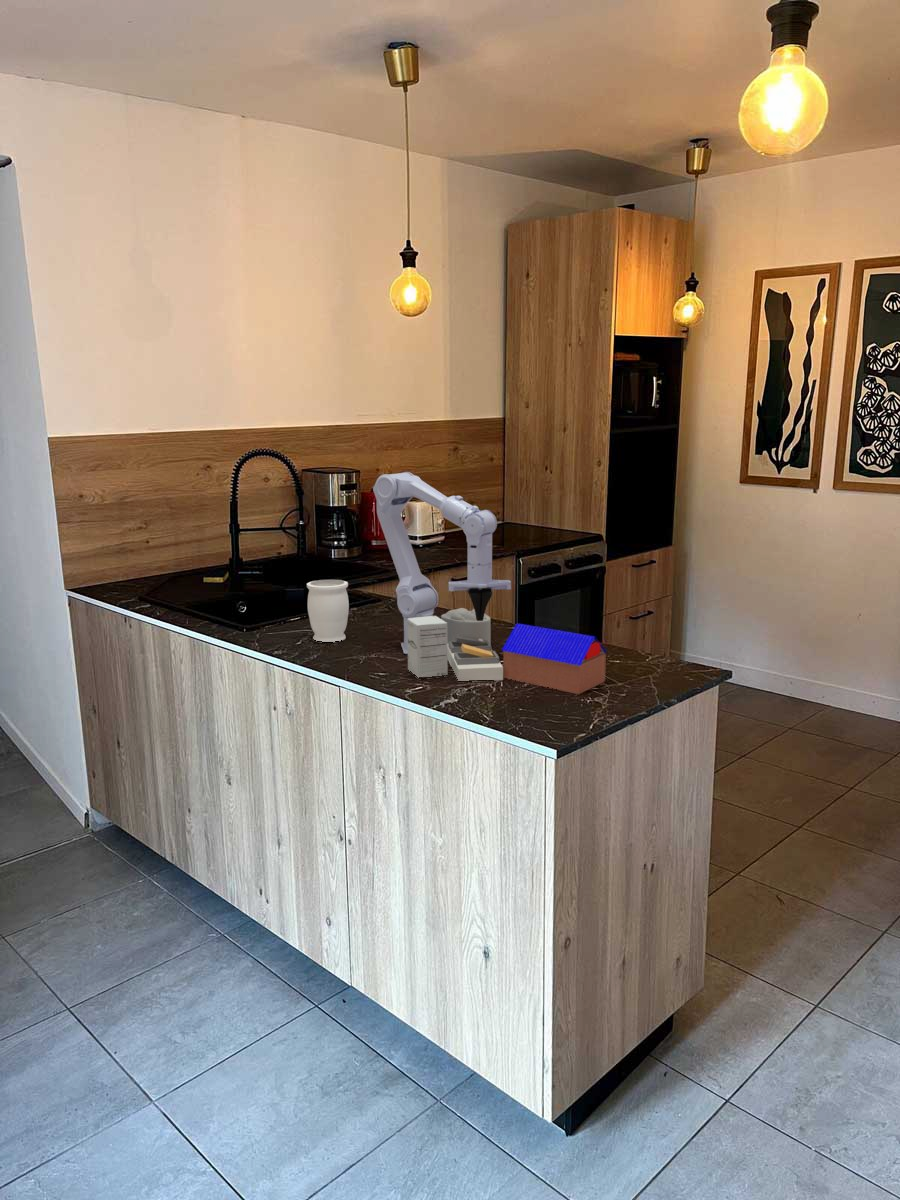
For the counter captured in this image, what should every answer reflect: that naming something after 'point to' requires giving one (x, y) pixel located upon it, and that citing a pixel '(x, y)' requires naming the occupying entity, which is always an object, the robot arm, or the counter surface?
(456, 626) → the lumpy-topped squat cylinder
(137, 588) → the counter surface
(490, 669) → the cream switch panel
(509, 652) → the house
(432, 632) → the supplement box
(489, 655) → the amber rocker
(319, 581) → the jar
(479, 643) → the charcoal rocker
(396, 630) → the counter surface
